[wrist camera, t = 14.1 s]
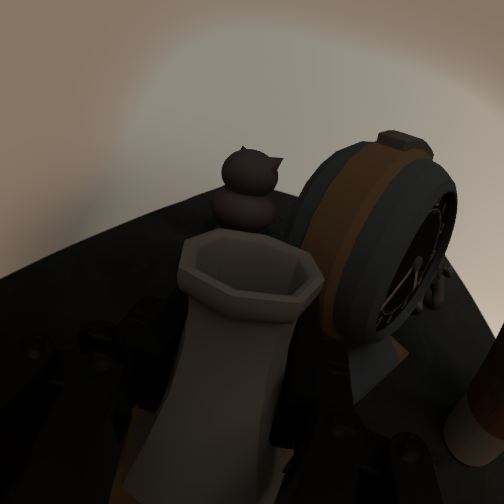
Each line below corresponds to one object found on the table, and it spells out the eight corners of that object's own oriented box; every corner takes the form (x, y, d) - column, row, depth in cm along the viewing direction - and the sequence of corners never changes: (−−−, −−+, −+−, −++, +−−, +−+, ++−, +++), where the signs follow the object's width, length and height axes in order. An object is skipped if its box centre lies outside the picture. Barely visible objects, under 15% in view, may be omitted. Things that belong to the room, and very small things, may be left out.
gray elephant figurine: (442, 305, 36) (466, 254, 33) (416, 341, 28) (449, 275, 25) (388, 273, 42) (407, 223, 38) (346, 297, 34) (370, 233, 30)
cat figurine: (194, 230, 42) (208, 140, 36) (240, 225, 47) (257, 145, 42) (231, 260, 36) (252, 155, 31) (280, 251, 41) (303, 160, 36)
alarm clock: (321, 431, 17) (452, 138, 10) (230, 342, 24) (284, 95, 16) (412, 350, 26) (490, 172, 19) (339, 299, 33) (392, 134, 25)
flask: (300, 426, 14) (384, 243, 10) (272, 557, 7) (449, 431, 3) (162, 383, 15) (175, 188, 11) (93, 494, 8) (1, 282, 4)
